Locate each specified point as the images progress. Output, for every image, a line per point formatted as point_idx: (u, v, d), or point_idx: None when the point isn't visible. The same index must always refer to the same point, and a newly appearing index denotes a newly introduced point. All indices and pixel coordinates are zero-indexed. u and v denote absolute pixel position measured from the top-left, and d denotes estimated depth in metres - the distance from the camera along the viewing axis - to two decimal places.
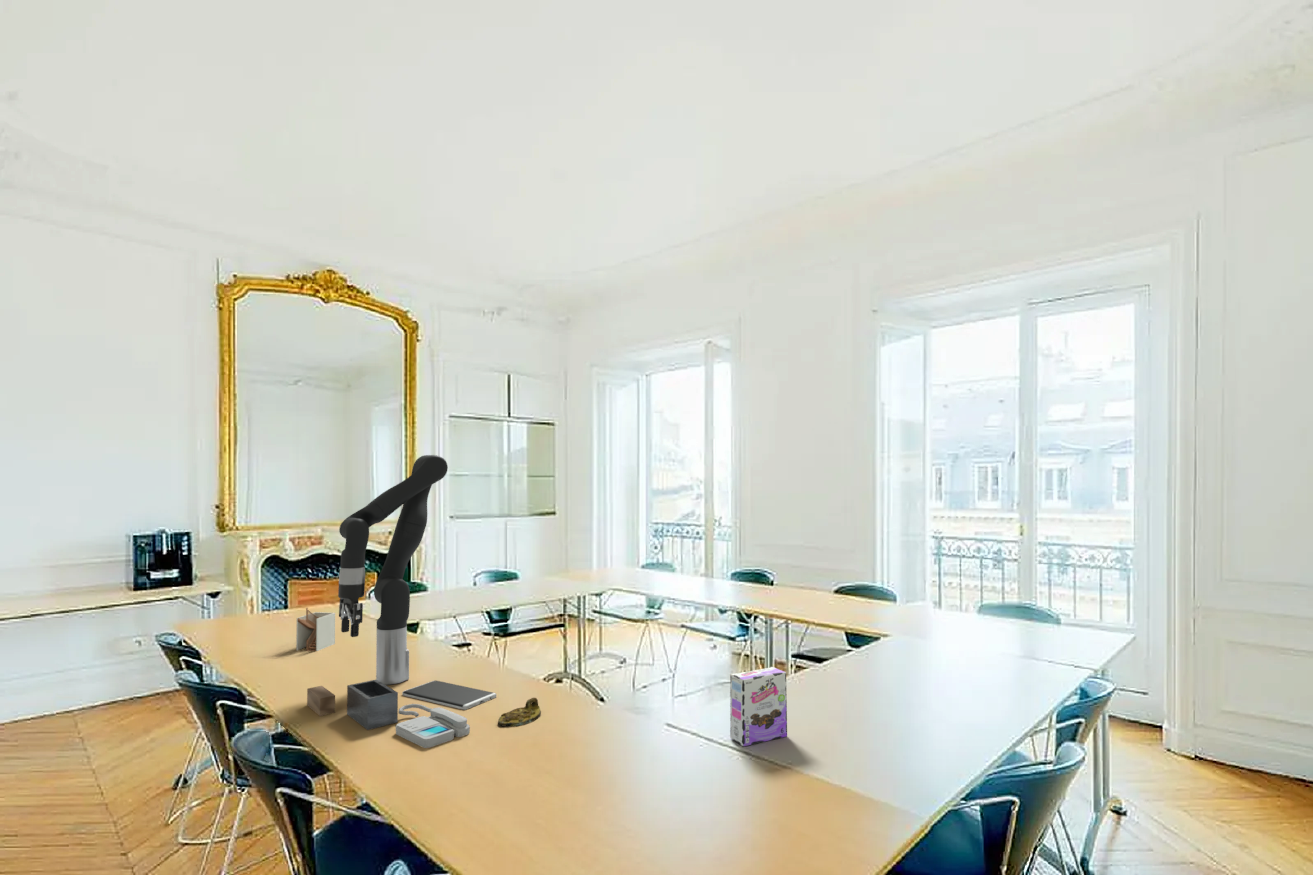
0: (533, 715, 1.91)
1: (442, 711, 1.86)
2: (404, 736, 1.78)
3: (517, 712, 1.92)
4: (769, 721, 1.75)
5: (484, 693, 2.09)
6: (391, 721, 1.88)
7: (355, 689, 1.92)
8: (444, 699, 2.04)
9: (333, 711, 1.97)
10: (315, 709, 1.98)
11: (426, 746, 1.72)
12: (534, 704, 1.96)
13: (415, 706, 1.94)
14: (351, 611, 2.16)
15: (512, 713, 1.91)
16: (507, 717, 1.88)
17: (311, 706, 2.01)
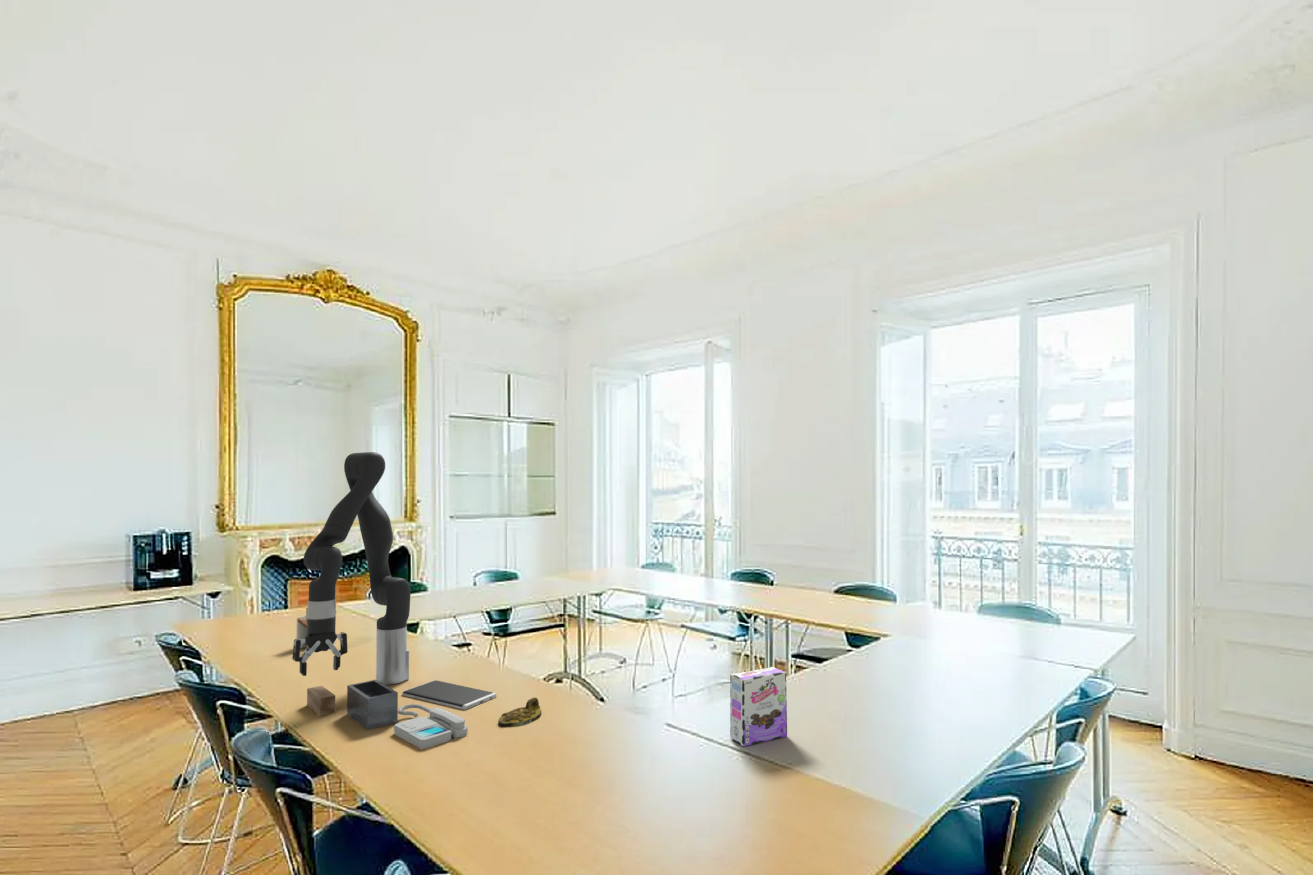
0: (533, 715, 1.91)
1: (441, 712, 1.86)
2: (402, 736, 1.78)
3: (517, 712, 1.92)
4: (769, 721, 1.75)
5: (484, 693, 2.09)
6: (391, 721, 1.88)
7: (355, 689, 1.92)
8: (444, 699, 2.04)
9: (333, 711, 1.97)
10: (315, 709, 1.98)
11: (423, 747, 1.71)
12: (535, 704, 1.96)
13: (415, 706, 1.94)
14: None
15: (512, 713, 1.91)
16: (507, 717, 1.88)
17: (311, 706, 2.01)
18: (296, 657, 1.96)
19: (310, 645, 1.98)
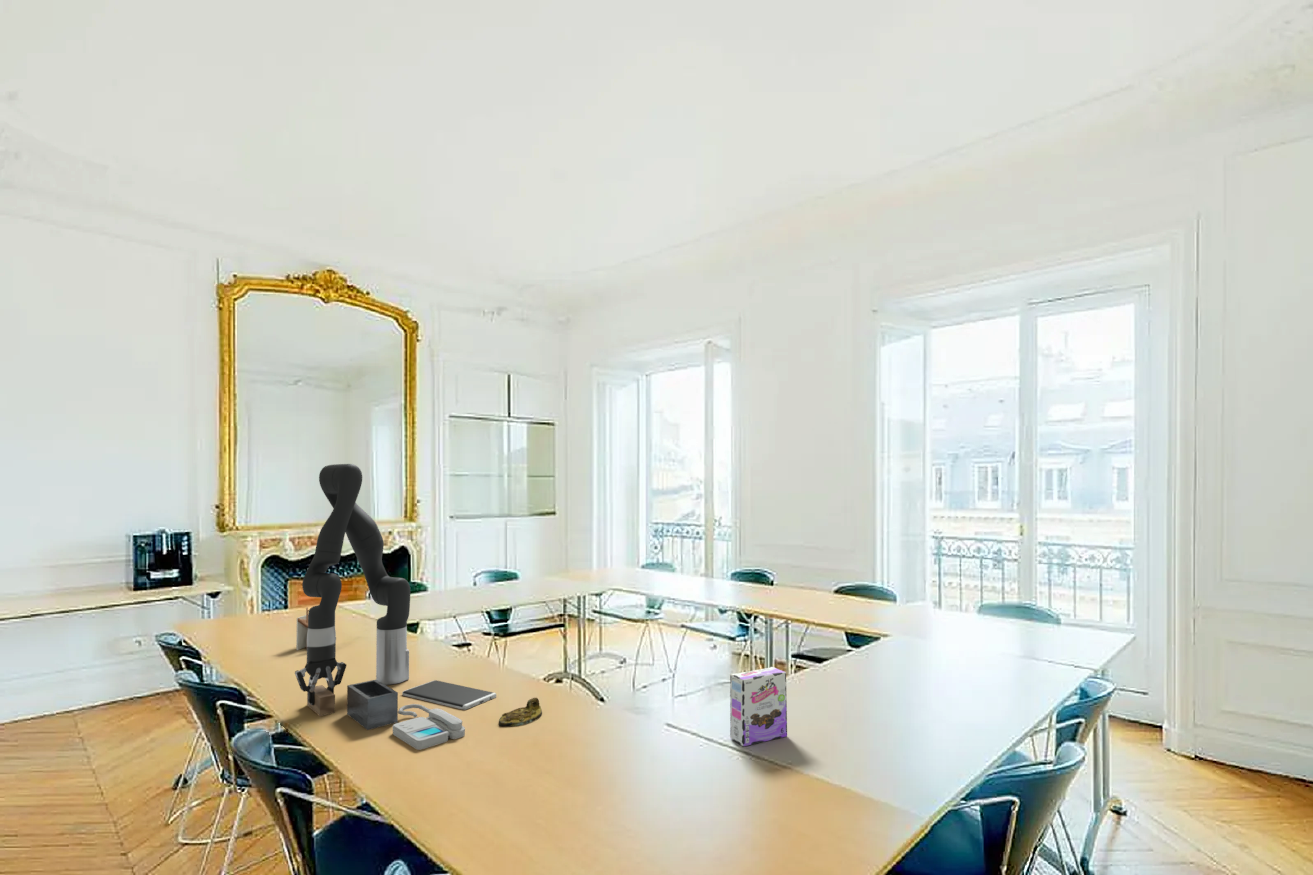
0: (534, 715, 1.91)
1: (439, 712, 1.85)
2: (399, 737, 1.78)
3: (518, 712, 1.92)
4: (769, 721, 1.75)
5: (484, 693, 2.09)
6: (391, 721, 1.88)
7: (355, 689, 1.92)
8: (444, 699, 2.04)
9: (333, 710, 1.97)
10: (315, 709, 1.98)
11: (419, 748, 1.71)
12: (535, 704, 1.96)
13: (415, 706, 1.94)
14: (332, 671, 2.02)
15: (513, 713, 1.91)
16: (508, 717, 1.88)
17: (311, 705, 2.01)
18: (303, 687, 1.97)
19: (312, 674, 1.98)
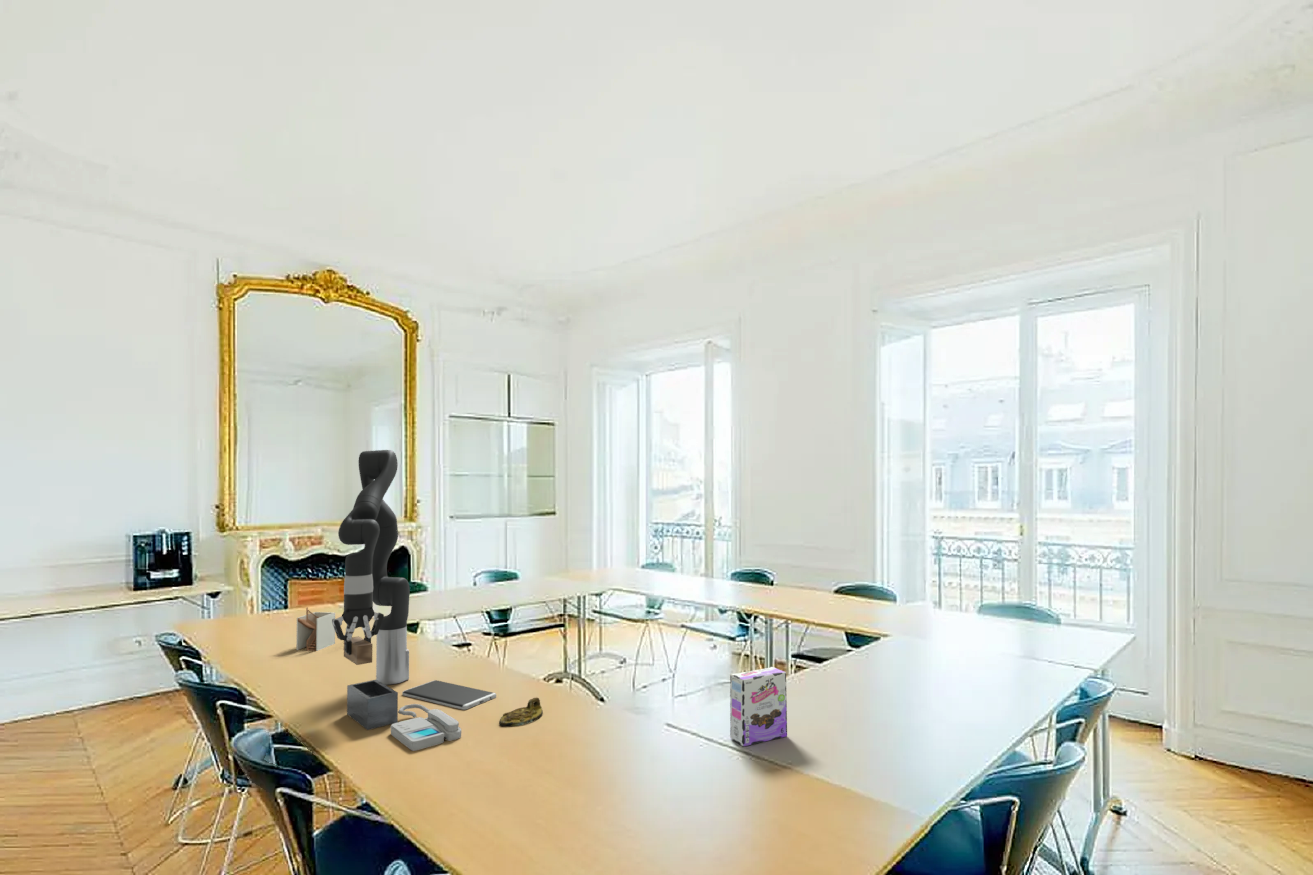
0: (534, 715, 1.91)
1: (438, 713, 1.85)
2: (396, 737, 1.78)
3: (519, 712, 1.92)
4: (769, 721, 1.75)
5: (483, 693, 2.09)
6: (391, 721, 1.88)
7: (355, 689, 1.92)
8: (444, 699, 2.04)
9: (370, 660, 1.91)
10: (352, 658, 1.92)
11: (413, 748, 1.70)
12: (536, 704, 1.96)
13: (416, 706, 1.94)
14: (369, 621, 1.96)
15: (514, 713, 1.91)
16: (508, 717, 1.88)
17: (348, 656, 1.95)
18: (340, 636, 1.91)
19: (349, 623, 1.93)
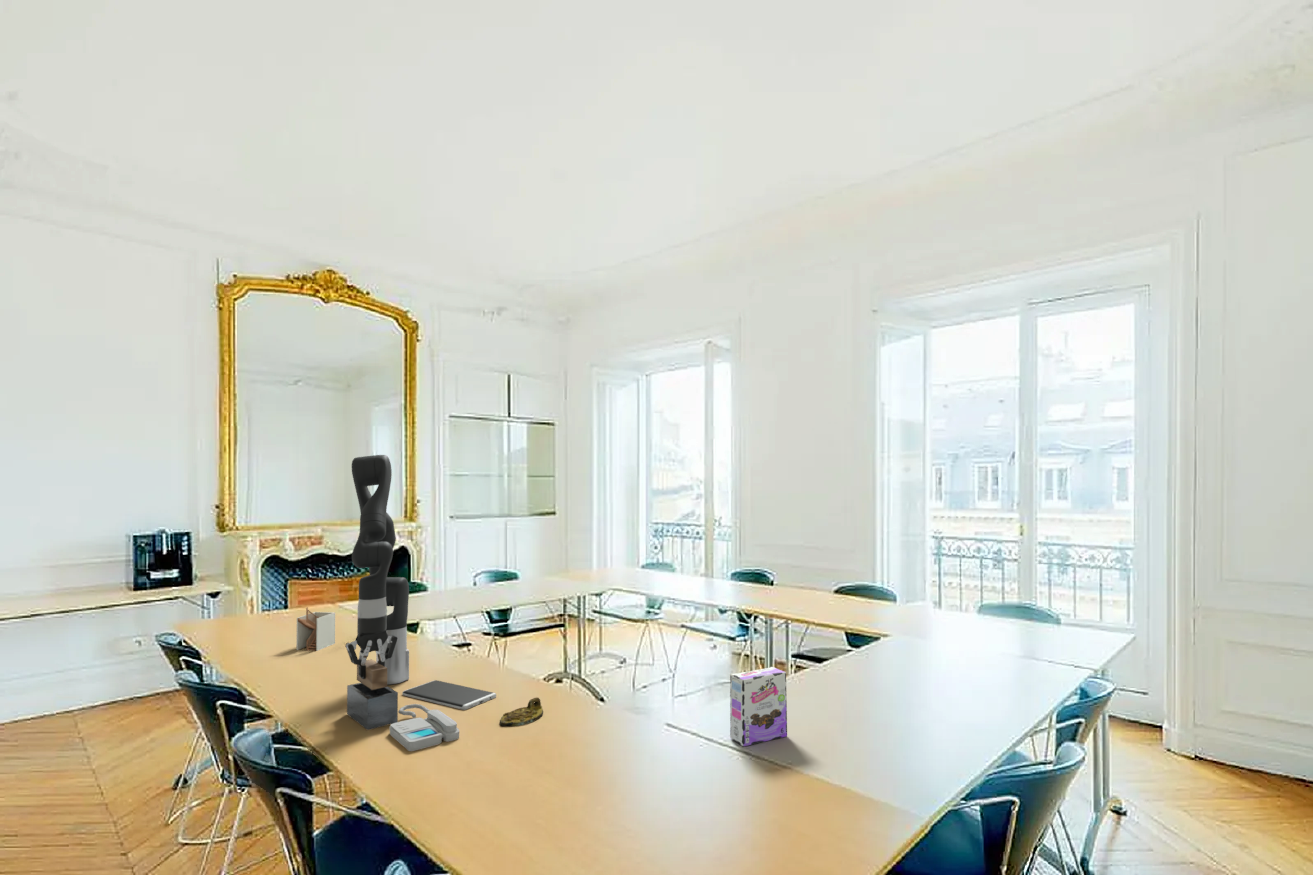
0: (535, 715, 1.91)
1: (437, 713, 1.84)
2: (395, 737, 1.77)
3: (519, 712, 1.92)
4: (769, 721, 1.75)
5: (483, 693, 2.09)
6: (391, 721, 1.88)
7: (355, 689, 1.92)
8: (444, 699, 2.04)
9: (385, 684, 1.89)
10: (366, 683, 1.90)
11: (410, 749, 1.70)
12: (536, 704, 1.96)
13: (417, 706, 1.94)
14: (383, 644, 1.95)
15: (514, 713, 1.92)
16: (509, 717, 1.89)
17: (362, 680, 1.93)
18: (355, 660, 1.89)
19: (363, 647, 1.91)
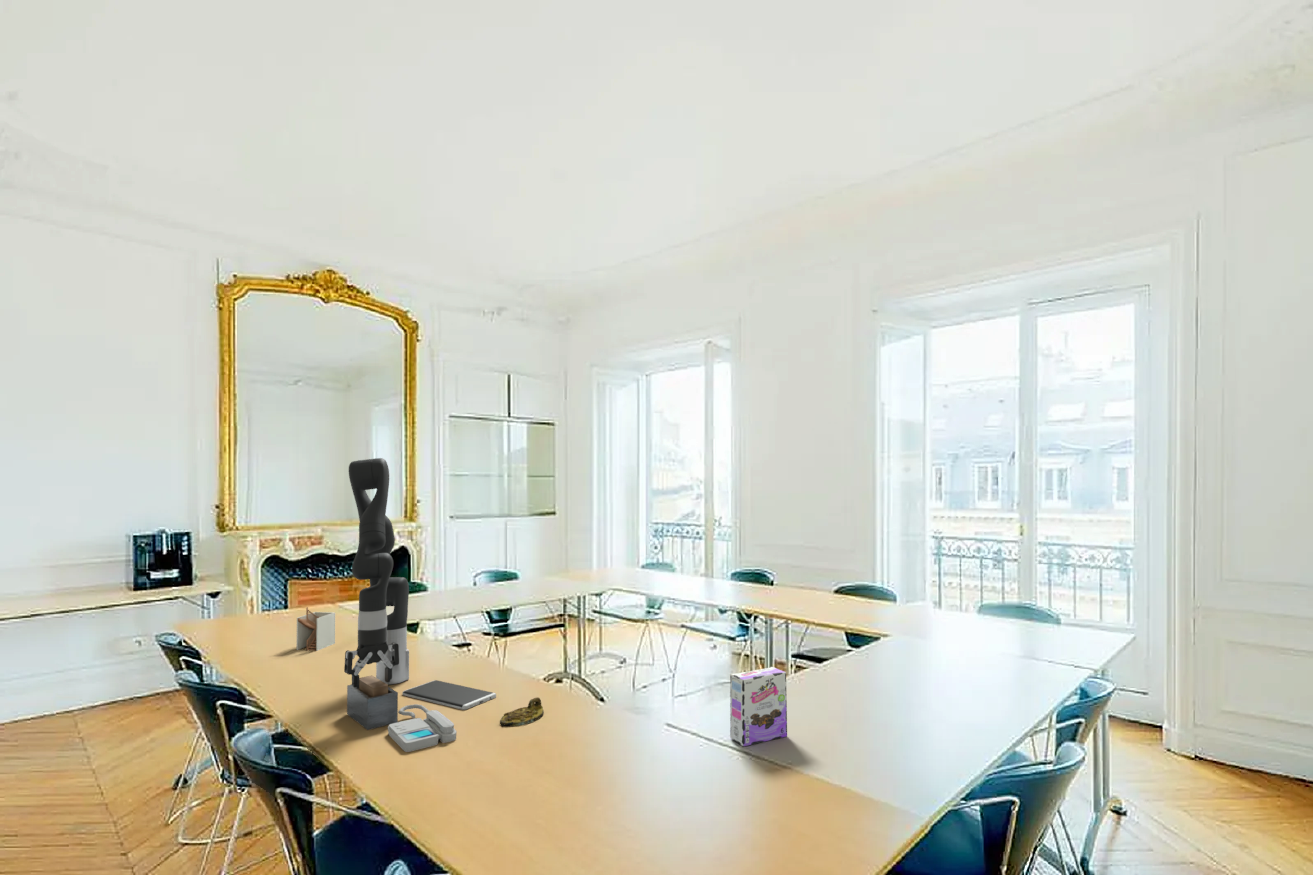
0: (535, 715, 1.91)
1: (435, 714, 1.84)
2: (393, 737, 1.77)
3: (520, 712, 1.92)
4: (769, 721, 1.75)
5: (483, 693, 2.09)
6: (391, 721, 1.88)
7: (355, 689, 1.92)
8: (444, 699, 2.04)
9: None
10: None
11: (406, 750, 1.70)
12: (537, 704, 1.96)
13: (417, 707, 1.94)
14: None
15: (515, 713, 1.92)
16: (509, 716, 1.89)
17: None
18: (348, 670, 1.88)
19: (362, 657, 1.90)
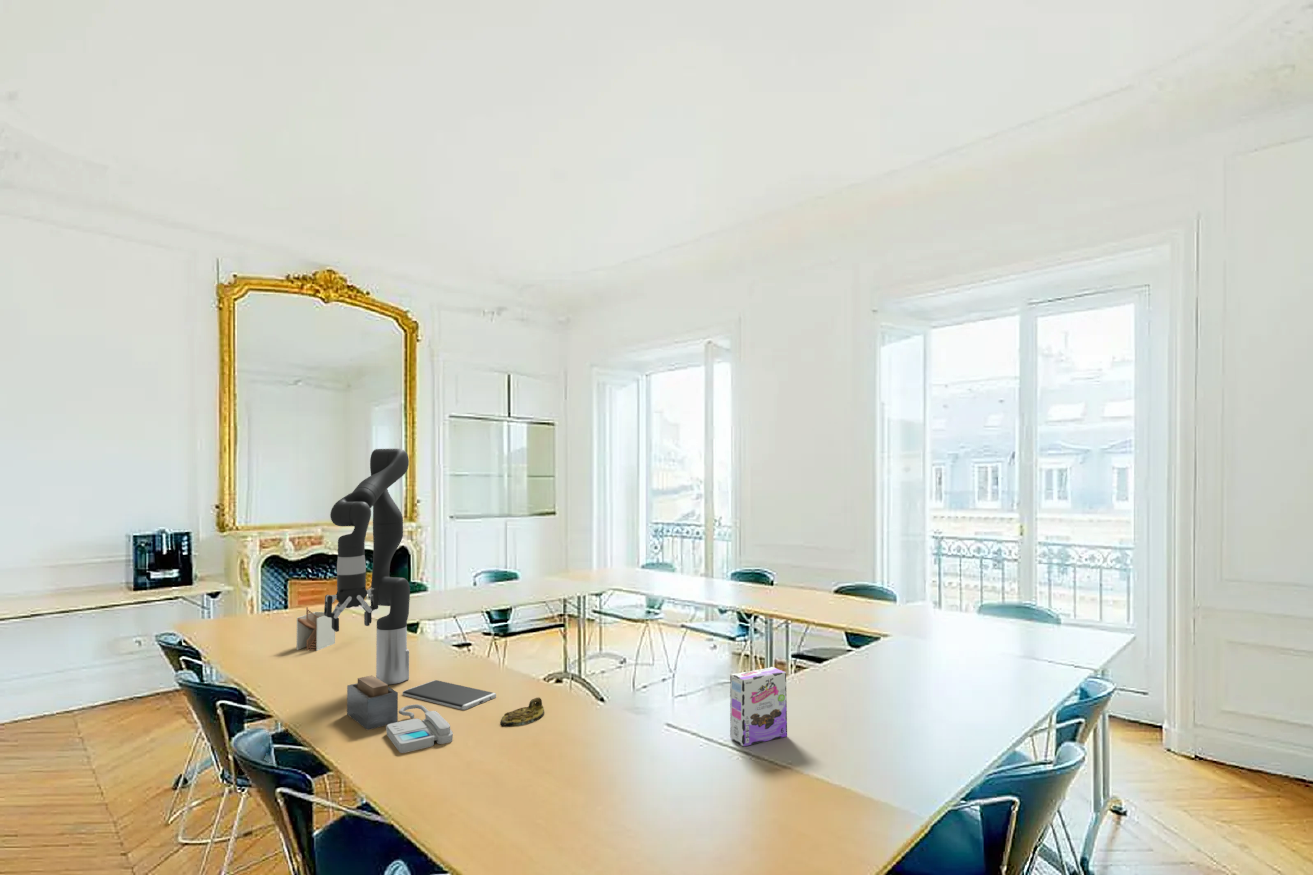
0: (536, 715, 1.91)
1: (433, 715, 1.83)
2: (390, 737, 1.77)
3: (520, 712, 1.92)
4: (769, 721, 1.75)
5: (483, 693, 2.09)
6: (391, 721, 1.88)
7: (355, 689, 1.92)
8: (444, 699, 2.04)
9: None
10: None
11: (401, 751, 1.69)
12: (538, 704, 1.96)
13: (418, 707, 1.93)
14: None
15: (515, 712, 1.92)
16: (510, 716, 1.89)
17: None
18: (328, 613, 1.94)
19: (341, 601, 1.96)
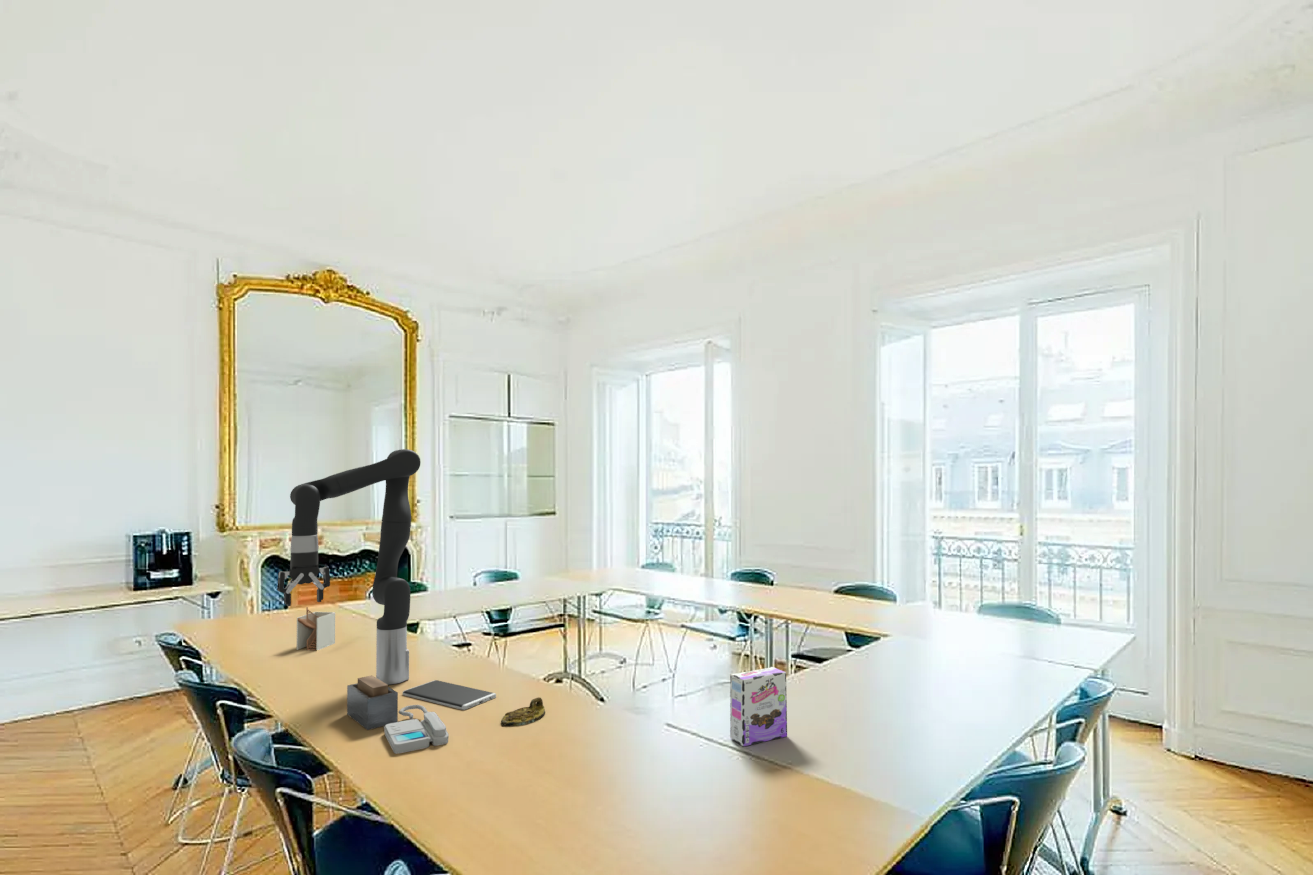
0: (536, 715, 1.91)
1: (431, 716, 1.82)
2: (387, 738, 1.77)
3: (521, 711, 1.92)
4: (769, 721, 1.75)
5: (483, 693, 2.09)
6: (391, 721, 1.88)
7: (355, 689, 1.92)
8: (444, 699, 2.04)
9: None
10: None
11: (396, 751, 1.69)
12: (539, 704, 1.96)
13: (418, 707, 1.93)
14: None
15: (516, 712, 1.92)
16: (510, 716, 1.89)
17: None
18: (280, 588, 2.06)
19: (294, 577, 2.09)
